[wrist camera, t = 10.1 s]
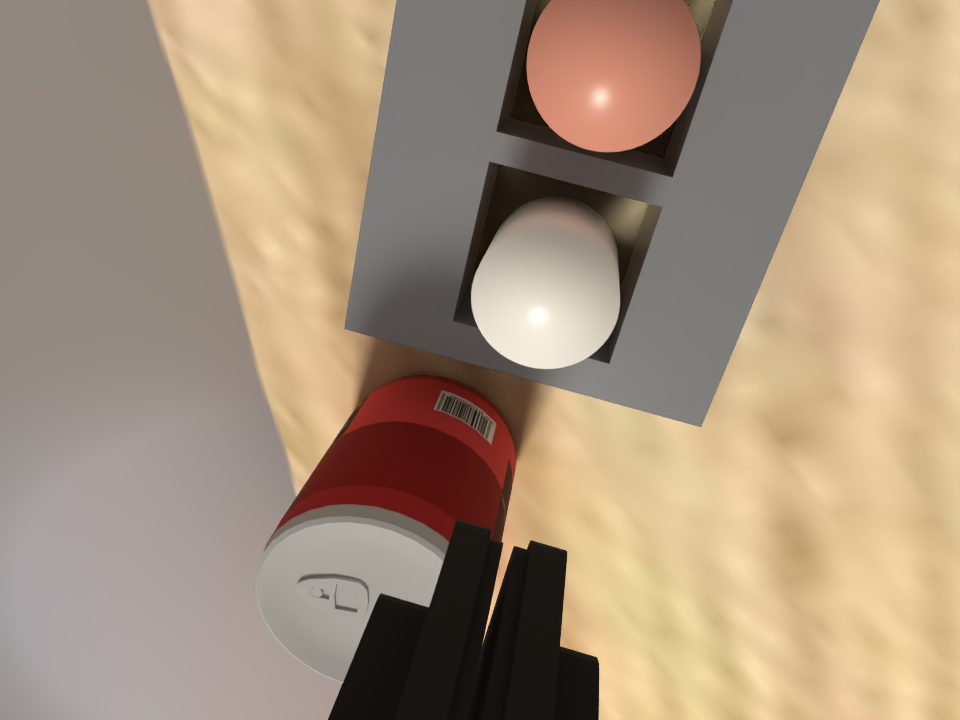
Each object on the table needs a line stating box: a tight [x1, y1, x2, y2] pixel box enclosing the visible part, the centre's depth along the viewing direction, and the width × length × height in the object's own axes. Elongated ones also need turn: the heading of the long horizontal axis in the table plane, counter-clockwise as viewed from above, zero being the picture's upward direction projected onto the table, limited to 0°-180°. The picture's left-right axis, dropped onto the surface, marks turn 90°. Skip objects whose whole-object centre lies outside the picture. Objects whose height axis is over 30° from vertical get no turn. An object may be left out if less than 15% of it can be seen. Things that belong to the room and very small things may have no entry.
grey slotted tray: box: [344, 0, 880, 427], centre depth 25 cm, size 14×23×4 cm, turn 167°
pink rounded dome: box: [527, 0, 701, 152], centre depth 22 cm, size 5×5×4 cm
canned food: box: [254, 376, 516, 683], centre depth 30 cm, size 8×8×11 cm
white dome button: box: [471, 197, 620, 369], centre depth 25 cm, size 5×5×4 cm
